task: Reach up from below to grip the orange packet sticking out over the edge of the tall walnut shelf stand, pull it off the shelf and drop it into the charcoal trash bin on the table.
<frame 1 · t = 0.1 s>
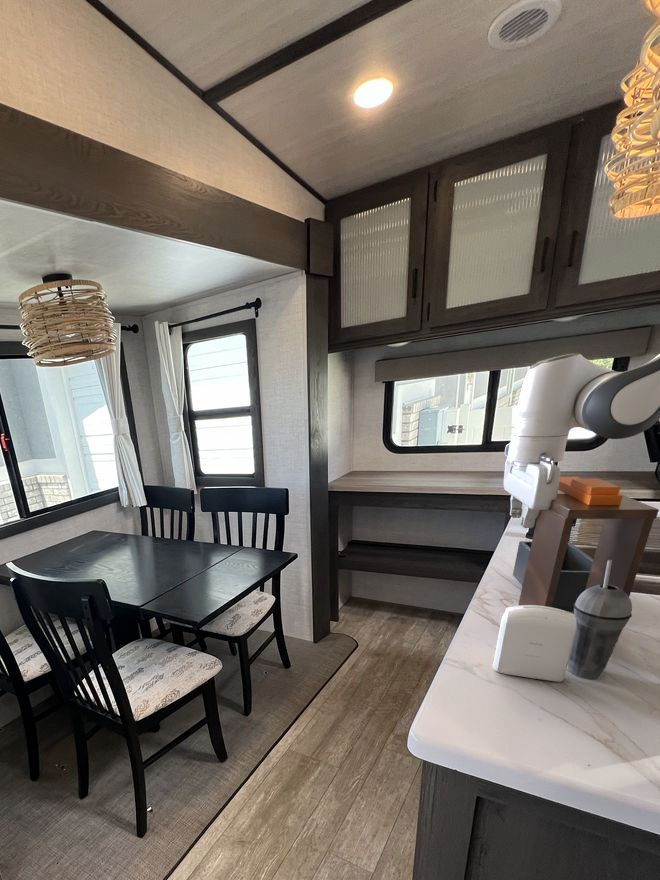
hand: (520, 522, 94), 19 cm above the counter, tool pointing down, fingers open, 7 cm apart
trash bin: (552, 591, 108), on the counter
beverage cup: (583, 672, 79), on the counter
shelf stand: (559, 634, 90), on the counter
photo printer: (526, 674, 79), on the counter
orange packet: (581, 494, 85), point 26 cm above the counter, touching shelf stand
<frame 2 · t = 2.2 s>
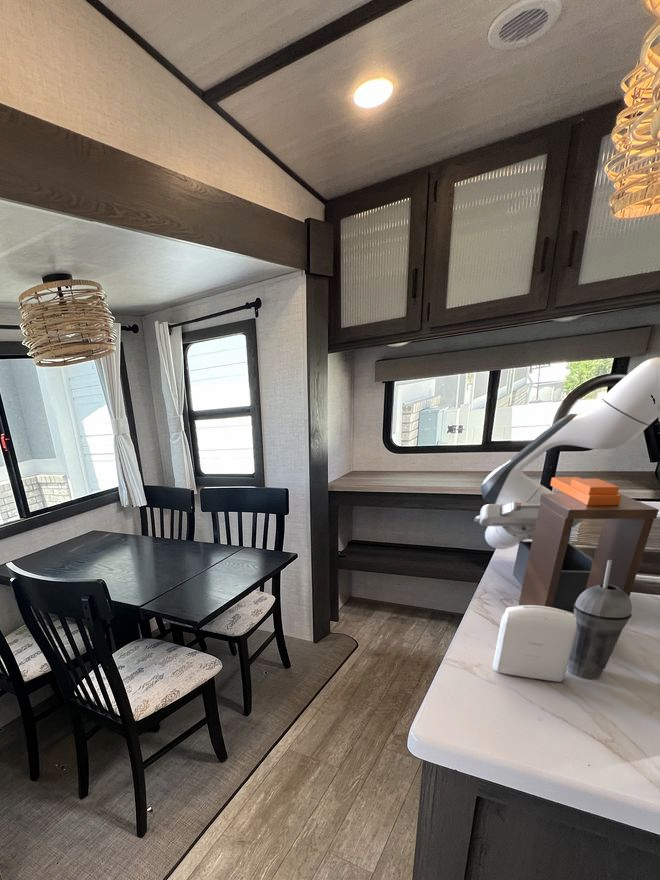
hand: (542, 504, 101), 21 cm above the counter, tool pointing upward, fingers open, 8 cm apart
nothing on the counter moved.
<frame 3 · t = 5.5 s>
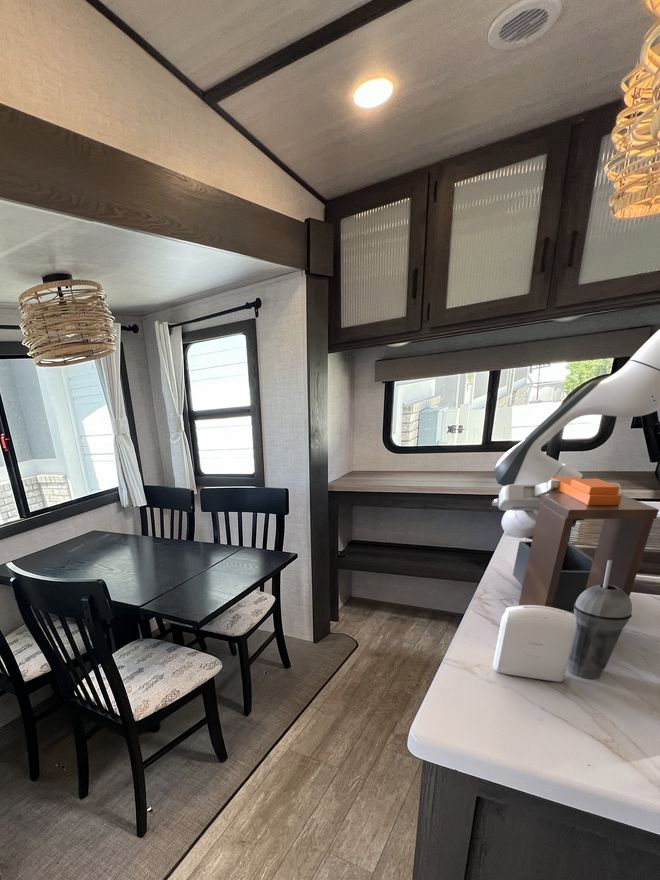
hand: (573, 483, 88), 27 cm above the counter, tool pointing upward, fingers closed on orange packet, 4 cm apart
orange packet: (580, 494, 85), point 26 cm above the counter, touching gripper, shelf stand
everything else where it was.
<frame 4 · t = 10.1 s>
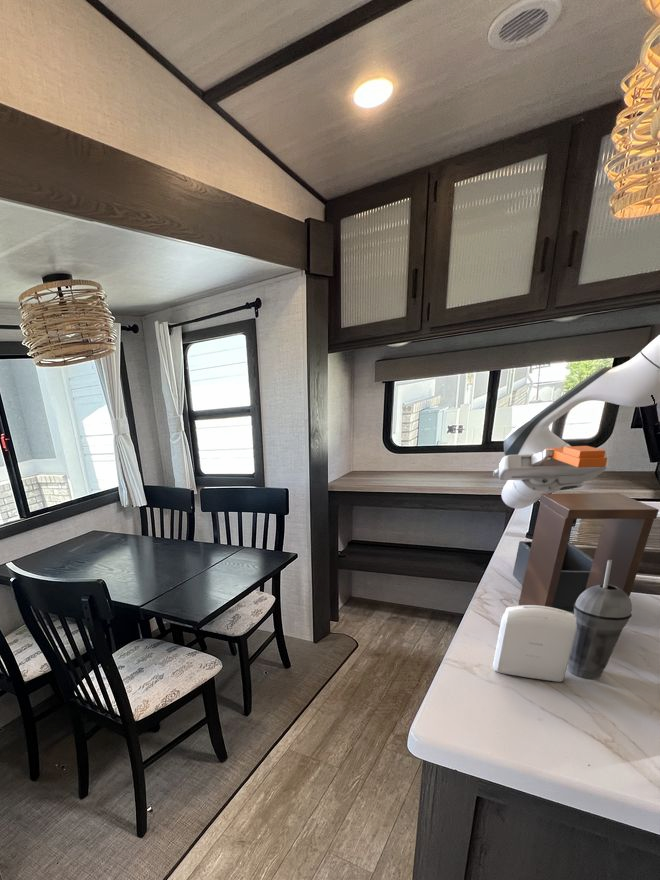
hand: (565, 451, 98), 31 cm above the counter, tool pointing upward, fingers closed on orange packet, 4 cm apart
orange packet: (572, 460, 95), point 30 cm above the counter, touching gripper
everything else where it was.
when the fingers open (17 cm above the counter, at t = 14.5 s): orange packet drops 15 cm, resting on trash bin.
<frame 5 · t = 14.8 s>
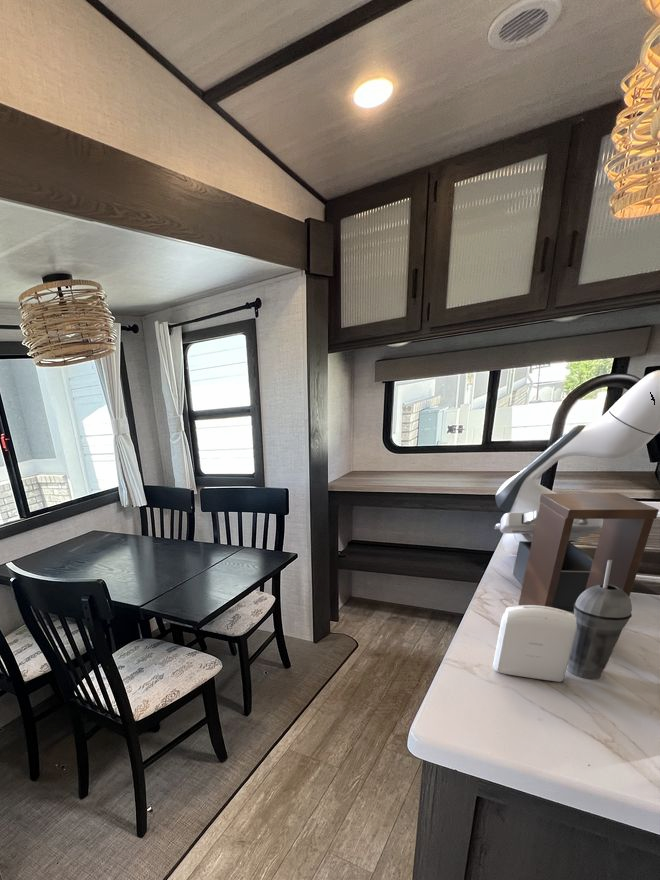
hand: (563, 513, 105), 17 cm above the counter, tool pointing upward, fingers open, 8 cm apart
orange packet: (554, 587, 108), point 1 cm above the counter, touching trash bin
everything else where it was.
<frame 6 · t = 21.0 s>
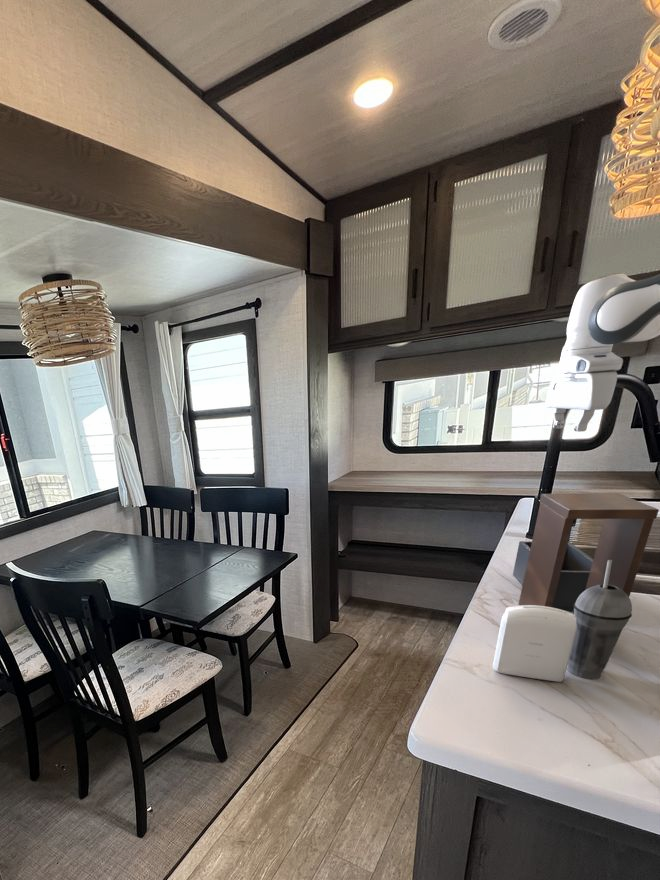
hand: (568, 429, 109), 34 cm above the counter, tool pointing down, fingers open, 8 cm apart
nothing on the counter moved.
at the end: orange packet inside the target area in the trash bin (0.8 cm from its centre), point 0.8 cm above the trash bin's base; the gripper is holding nothing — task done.
